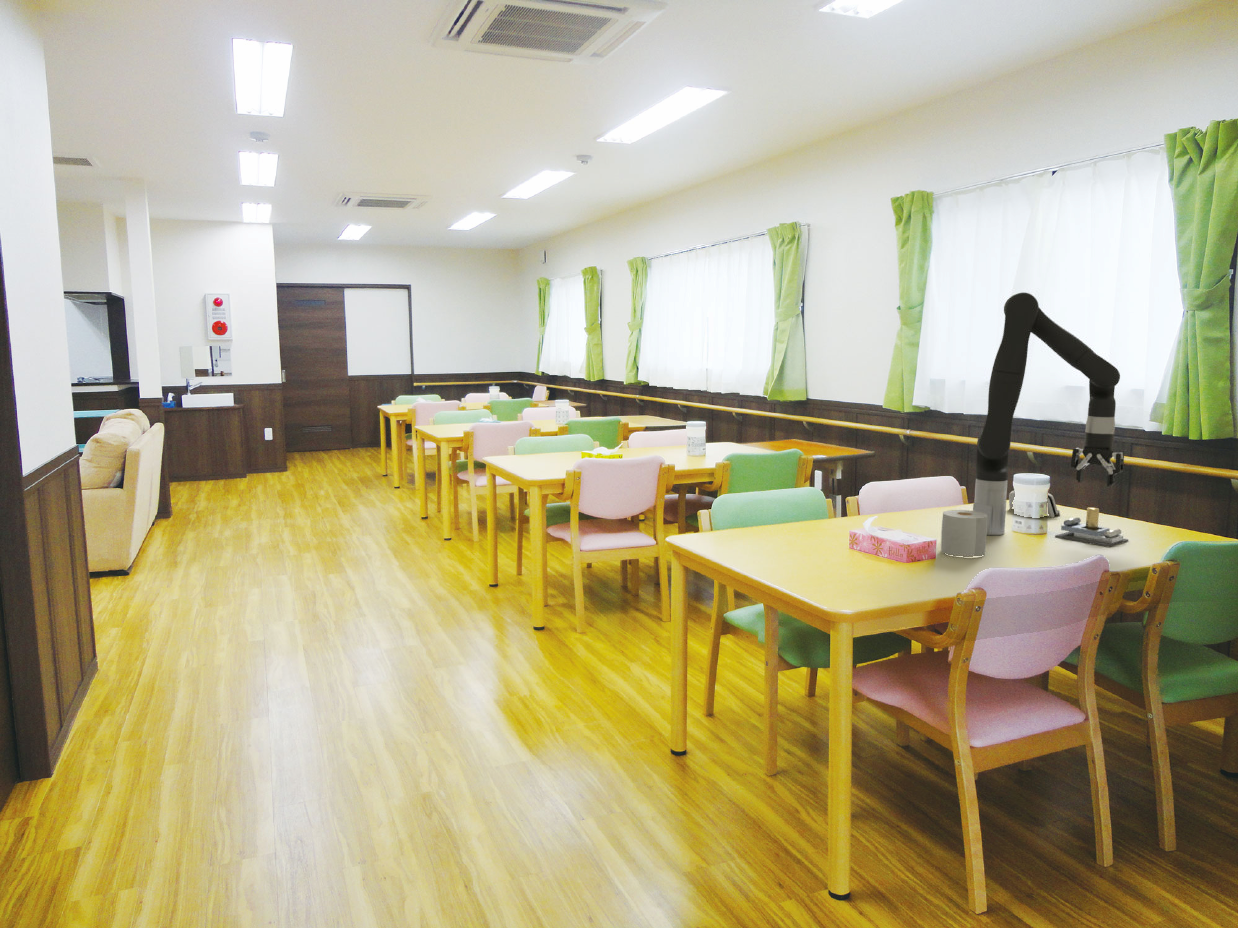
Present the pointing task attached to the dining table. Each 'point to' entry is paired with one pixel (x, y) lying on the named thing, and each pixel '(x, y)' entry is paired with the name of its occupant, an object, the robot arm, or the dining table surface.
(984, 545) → the toilet paper roll
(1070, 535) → the rubber mat
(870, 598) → the dining table surface
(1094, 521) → the brass pin
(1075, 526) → the grey clamping fixture
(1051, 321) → the robot arm
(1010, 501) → the hinge
